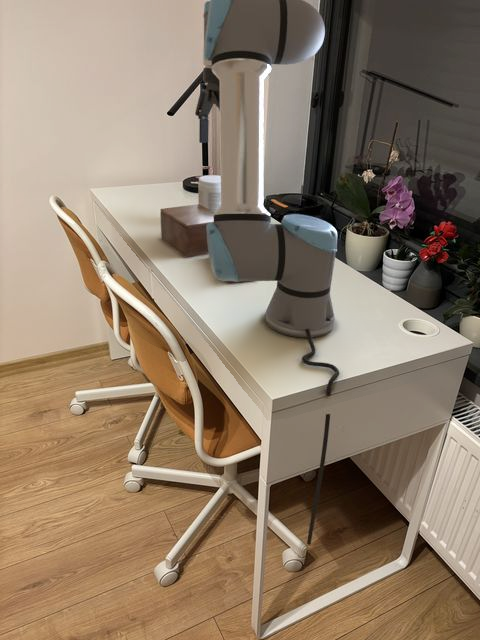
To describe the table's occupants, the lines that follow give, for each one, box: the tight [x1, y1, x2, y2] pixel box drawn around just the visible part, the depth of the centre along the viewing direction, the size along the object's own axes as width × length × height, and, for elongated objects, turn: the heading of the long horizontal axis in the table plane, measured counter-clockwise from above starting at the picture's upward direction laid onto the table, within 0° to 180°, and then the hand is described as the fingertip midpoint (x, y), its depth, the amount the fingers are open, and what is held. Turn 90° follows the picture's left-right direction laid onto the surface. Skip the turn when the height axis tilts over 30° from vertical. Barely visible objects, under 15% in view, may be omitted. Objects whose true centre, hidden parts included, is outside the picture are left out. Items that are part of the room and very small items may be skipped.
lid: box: [160, 203, 214, 228], centre depth 155 cm, size 16×13×1 cm
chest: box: [160, 211, 209, 258], centre depth 158 cm, size 16×13×8 cm
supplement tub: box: [197, 174, 221, 213], centre depth 172 cm, size 10×10×15 cm
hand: (215, 147), depth 164 cm, fingers open, 13 cm apart
